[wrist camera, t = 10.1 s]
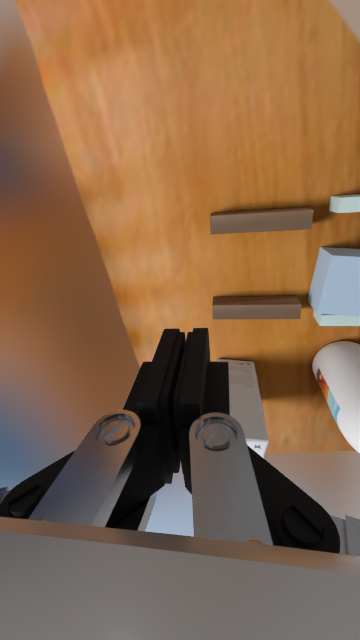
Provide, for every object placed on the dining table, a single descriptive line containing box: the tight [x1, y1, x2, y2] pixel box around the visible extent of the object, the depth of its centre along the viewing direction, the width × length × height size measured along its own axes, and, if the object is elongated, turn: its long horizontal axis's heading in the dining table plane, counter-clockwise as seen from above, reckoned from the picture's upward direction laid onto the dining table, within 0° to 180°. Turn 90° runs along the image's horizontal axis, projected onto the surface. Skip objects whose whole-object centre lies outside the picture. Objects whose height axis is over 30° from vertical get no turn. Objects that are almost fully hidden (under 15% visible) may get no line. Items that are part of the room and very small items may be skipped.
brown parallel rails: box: [210, 207, 314, 319], centre depth 35 cm, size 13×11×3 cm
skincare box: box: [217, 359, 269, 458], centre depth 39 cm, size 8×6×15 cm
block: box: [308, 247, 360, 317], centre depth 34 cm, size 7×7×4 cm
